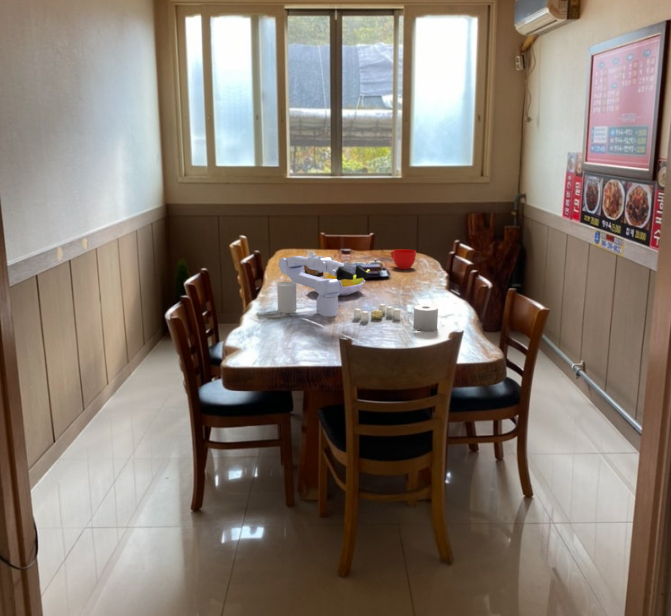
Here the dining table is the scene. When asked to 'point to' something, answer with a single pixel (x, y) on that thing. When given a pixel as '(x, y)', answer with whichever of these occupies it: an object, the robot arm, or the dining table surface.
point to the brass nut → (376, 315)
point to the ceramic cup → (403, 258)
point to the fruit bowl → (348, 284)
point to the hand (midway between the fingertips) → (360, 276)
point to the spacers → (382, 307)
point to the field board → (375, 322)
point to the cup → (286, 297)
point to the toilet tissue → (425, 317)
